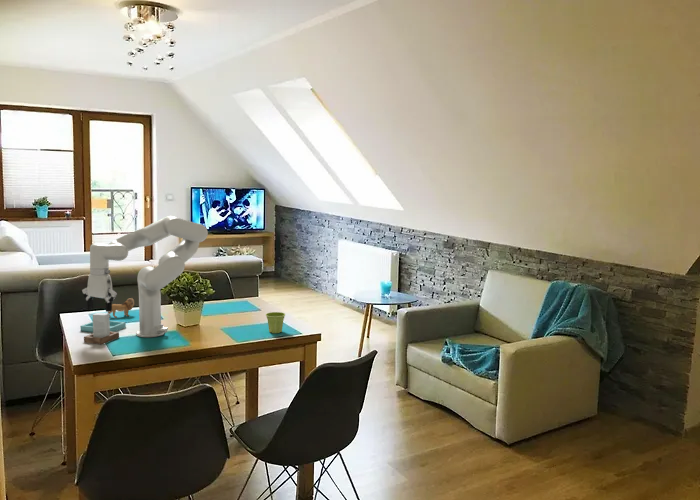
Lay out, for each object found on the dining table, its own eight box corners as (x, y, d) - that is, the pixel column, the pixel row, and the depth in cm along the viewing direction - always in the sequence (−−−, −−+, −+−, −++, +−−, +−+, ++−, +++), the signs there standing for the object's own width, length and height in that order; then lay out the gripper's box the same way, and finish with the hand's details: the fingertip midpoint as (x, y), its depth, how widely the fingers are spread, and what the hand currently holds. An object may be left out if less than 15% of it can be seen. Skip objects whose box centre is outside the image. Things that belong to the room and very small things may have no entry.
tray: (125, 327, 289) (125, 322, 289) (107, 334, 277) (107, 329, 276) (99, 324, 293) (99, 319, 293) (80, 331, 281) (80, 325, 280)
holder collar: (119, 337, 272) (118, 332, 271) (102, 344, 261) (101, 338, 261) (101, 335, 274) (101, 330, 274) (84, 342, 264) (83, 336, 263)
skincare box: (110, 338, 270) (109, 312, 268) (106, 341, 266) (106, 315, 264) (96, 338, 270) (96, 312, 268) (93, 341, 265) (92, 314, 264)
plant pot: (266, 335, 283) (267, 317, 282) (264, 329, 292) (264, 312, 291) (286, 334, 285) (286, 316, 284) (283, 328, 294) (283, 311, 293)
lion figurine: (132, 313, 317) (132, 296, 315) (136, 315, 313) (136, 298, 311) (103, 317, 307) (103, 300, 306) (107, 319, 303) (107, 302, 302)
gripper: (121, 272, 265) (121, 310, 267) (88, 268, 269) (88, 306, 271) (110, 274, 258) (110, 313, 260) (76, 271, 262) (77, 309, 264)
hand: (99, 309), depth 265 cm, fingers open, 9 cm apart
